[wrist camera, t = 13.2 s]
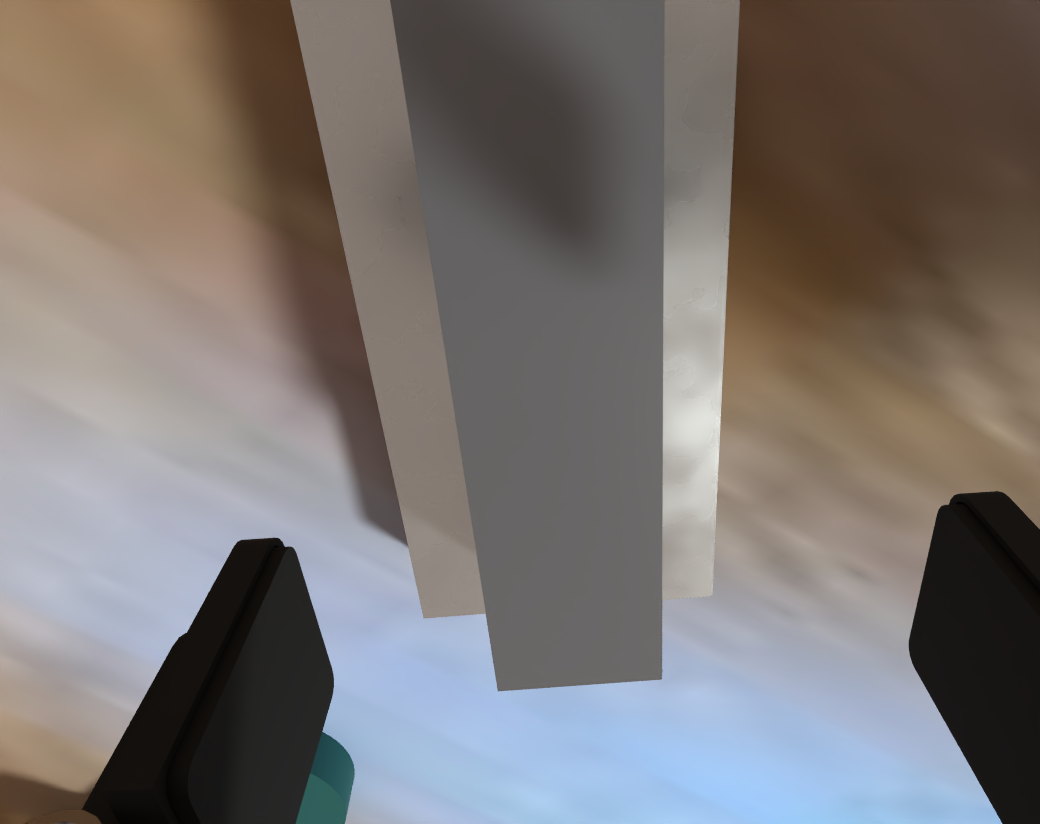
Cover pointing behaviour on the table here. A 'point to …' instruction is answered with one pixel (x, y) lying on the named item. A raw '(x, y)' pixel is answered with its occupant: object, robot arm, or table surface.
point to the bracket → (328, 785)
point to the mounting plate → (413, 304)
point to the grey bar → (551, 314)
